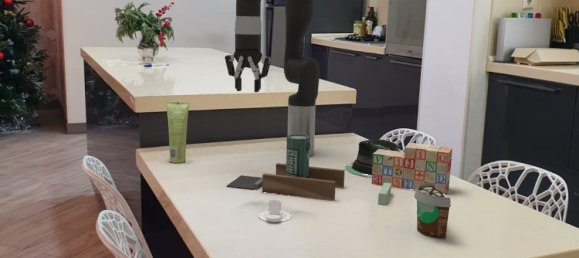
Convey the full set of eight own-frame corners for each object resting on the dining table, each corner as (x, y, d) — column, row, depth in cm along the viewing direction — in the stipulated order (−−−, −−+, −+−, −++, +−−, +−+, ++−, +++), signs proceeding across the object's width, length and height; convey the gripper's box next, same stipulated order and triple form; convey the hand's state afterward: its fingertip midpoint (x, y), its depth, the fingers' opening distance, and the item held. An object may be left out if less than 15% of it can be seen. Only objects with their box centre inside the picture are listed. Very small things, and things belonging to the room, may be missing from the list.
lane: (277, 179, 177) (277, 163, 176) (344, 186, 172) (344, 169, 171) (262, 192, 165) (262, 174, 164) (333, 200, 159) (334, 182, 158)
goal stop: (383, 193, 167) (384, 182, 166) (390, 193, 166) (391, 183, 166) (377, 204, 158) (378, 193, 157) (385, 205, 157) (386, 194, 156)
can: (312, 189, 169) (313, 136, 166) (297, 193, 165) (299, 140, 162) (296, 184, 173) (297, 133, 170) (281, 188, 169) (282, 136, 166)
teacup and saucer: (277, 227, 141) (278, 210, 140) (250, 220, 145) (250, 204, 144) (297, 216, 148) (297, 200, 148) (270, 210, 152) (270, 194, 152)
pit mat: (241, 176, 180) (241, 171, 179) (270, 179, 177) (270, 174, 177) (226, 187, 169) (226, 181, 169) (257, 190, 167) (257, 185, 166)
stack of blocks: (370, 184, 175) (372, 143, 173) (377, 178, 181) (379, 138, 178) (445, 195, 167) (448, 152, 164) (449, 189, 172) (452, 147, 170)
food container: (405, 221, 145) (408, 181, 143) (430, 221, 146) (433, 181, 144) (420, 241, 133) (423, 198, 131) (447, 241, 134) (451, 198, 132)
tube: (182, 158, 198) (181, 99, 194) (190, 161, 195) (189, 101, 191) (166, 161, 195) (165, 101, 191) (174, 164, 191) (173, 103, 187)
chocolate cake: (421, 165, 194) (398, 182, 177) (372, 183, 204) (347, 201, 187) (401, 122, 194) (377, 135, 178) (354, 143, 204) (327, 157, 188)
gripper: (276, 32, 174) (275, 91, 178) (230, 31, 178) (230, 88, 182) (267, 33, 167) (266, 94, 171) (219, 32, 171) (219, 91, 175)
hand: (247, 91), depth 176 cm, fingers open, 5 cm apart
